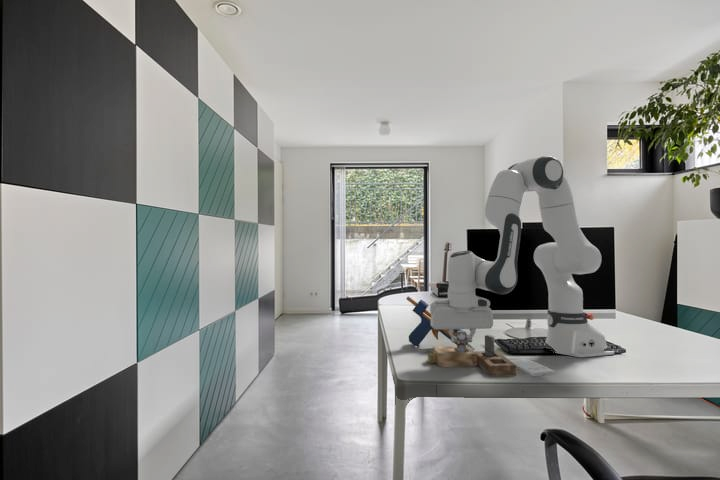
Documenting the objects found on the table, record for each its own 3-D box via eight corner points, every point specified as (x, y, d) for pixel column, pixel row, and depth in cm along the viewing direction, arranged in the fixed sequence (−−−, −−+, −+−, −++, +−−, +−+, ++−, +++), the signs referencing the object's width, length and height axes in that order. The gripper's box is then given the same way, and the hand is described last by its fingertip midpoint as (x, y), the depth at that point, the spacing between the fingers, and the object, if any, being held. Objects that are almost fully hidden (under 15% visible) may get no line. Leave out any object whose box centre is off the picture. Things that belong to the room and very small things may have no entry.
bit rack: (497, 359, 136) (496, 333, 136) (516, 375, 121) (516, 345, 121) (473, 360, 136) (473, 333, 136) (490, 375, 121) (489, 345, 121)
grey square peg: (464, 360, 136) (464, 330, 136) (467, 363, 133) (467, 332, 133) (455, 360, 136) (455, 330, 136) (458, 363, 133) (458, 333, 133)
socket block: (467, 357, 139) (467, 346, 139) (476, 366, 130) (476, 353, 130) (433, 358, 138) (433, 346, 138) (439, 367, 129) (439, 354, 129)
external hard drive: (528, 363, 135) (555, 375, 123) (506, 365, 132) (532, 378, 120) (528, 358, 135) (555, 370, 123) (506, 360, 132) (532, 372, 120)
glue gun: (453, 377, 149) (478, 345, 147) (386, 325, 154) (409, 294, 151) (453, 370, 155) (477, 340, 153) (388, 321, 160) (411, 291, 157)
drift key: (451, 360, 136) (451, 351, 136) (454, 363, 132) (454, 354, 132) (427, 360, 135) (427, 352, 135) (429, 363, 132) (429, 355, 132)
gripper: (432, 302, 130) (432, 345, 130) (495, 301, 131) (495, 344, 131) (428, 299, 137) (428, 340, 137) (487, 298, 138) (488, 339, 138)
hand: (461, 342), depth 134 cm, fingers open, 4 cm apart
